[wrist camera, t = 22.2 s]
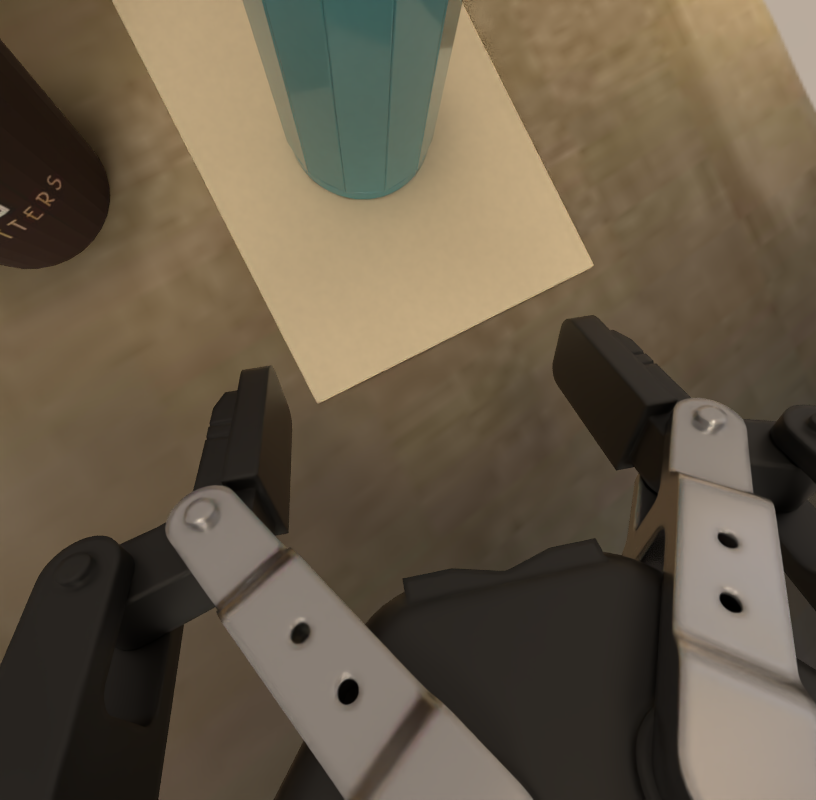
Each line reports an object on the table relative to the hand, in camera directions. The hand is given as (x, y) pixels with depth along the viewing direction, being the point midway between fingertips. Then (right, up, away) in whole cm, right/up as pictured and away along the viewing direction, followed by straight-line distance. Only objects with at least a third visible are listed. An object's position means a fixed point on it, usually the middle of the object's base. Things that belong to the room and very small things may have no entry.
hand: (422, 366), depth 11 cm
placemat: (-3, +11, +7) cm, 13 cm away
